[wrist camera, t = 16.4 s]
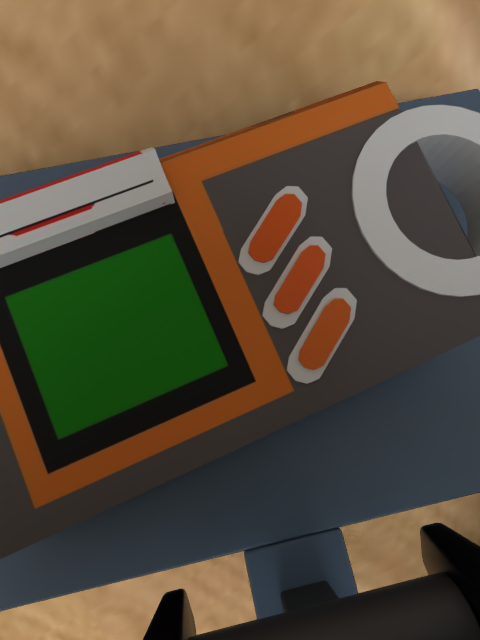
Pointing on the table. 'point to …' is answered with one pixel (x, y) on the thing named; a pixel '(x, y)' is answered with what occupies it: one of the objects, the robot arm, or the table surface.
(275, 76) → the table surface
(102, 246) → the electronic device
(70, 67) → the table surface
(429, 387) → the board
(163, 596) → the robot arm
